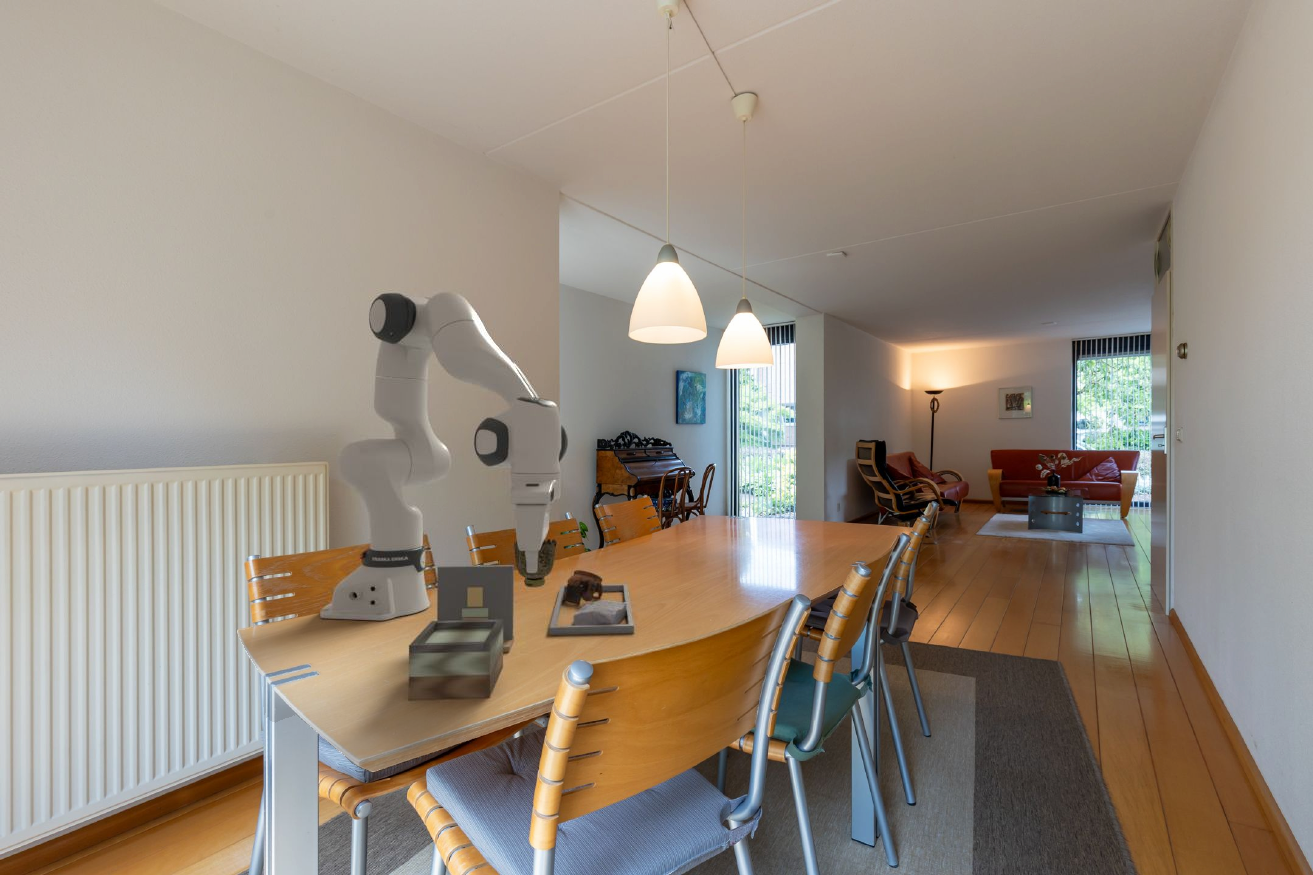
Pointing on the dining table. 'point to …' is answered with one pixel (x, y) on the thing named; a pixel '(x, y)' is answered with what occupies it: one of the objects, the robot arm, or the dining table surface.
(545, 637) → the dining table surface
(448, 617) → the board
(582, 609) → the stone block
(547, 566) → the cup
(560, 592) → the tray rim
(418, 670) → the striped square box
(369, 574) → the robot arm
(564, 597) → the pottery mug
